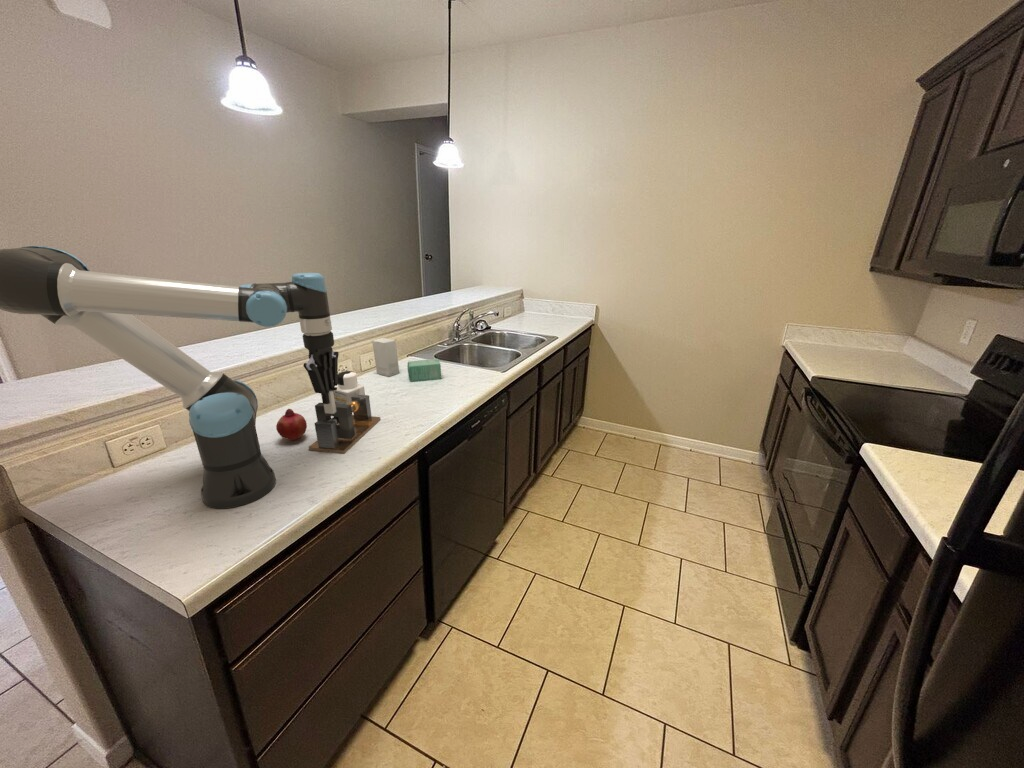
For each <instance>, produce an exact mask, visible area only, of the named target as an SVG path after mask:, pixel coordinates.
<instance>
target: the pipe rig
mask: <svg viewBox="0 0 1024 768" xmlns="http://www.w3.org/2000/svg"><path fill="white" fill-rule="evenodd" d="M351 399H352V402H351V403H349V404H348V405H351V409H352V416H353V423H354V431H355V436H354V437H353V438H352V439H345V438H338V434H337V427H336V425H340V424H339V417H335V416H332V417H331V419H330V420H318V421H315V422H314V428H315V434H316V441H314V442H313V443H312V444H311V445H309V446H308V451H312V452H321V453H322V452H323V453H331V454H332V453H333V454H335V453H336V454H343V455H344V454H346V453H347V452H348V451H349V450H350V449H351V448H352V447H353V446H355V444H356V443H358V442H359V441H360V440H361V439H362V438H363V437H364V436H365V435H366V434H367V433H368V432H369V431H370V430H371V429H373V428H374V427H375V426H376V425H377V424H378V423H379V422H380V421H381V416H372V409H371V408H372V407H371V401H370V400H371V399H370V395H368V394H365V395H357V394H355V395H353V396H352V397H351Z"/></svg>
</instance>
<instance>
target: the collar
mask: <svg viewBox="0 0 1024 768" xmlns="http://www.w3.org/2000/svg"><path fill="white" fill-rule="evenodd" d="M335 405H336V413H334V414H329V413H325V410H324V404H323V402H318V403H316V404H315V405H314V408H315V409H314V410H315V415H316V420H317V421H318V420H330V419H331V418H332V417H334V416H335V417H339V423H338V424H340V425H336V427H337V434H338V438H345V439H352V438H353V437H354V436H355V431H354V423H353V416H352V415H353V412H352V409H351V405H346V404H335ZM317 421H316V422H317Z"/></svg>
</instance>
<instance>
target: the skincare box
mask: <svg viewBox="0 0 1024 768" xmlns="http://www.w3.org/2000/svg"><path fill="white" fill-rule="evenodd" d="M371 342H372V349H373V357H374V363H375V370H376V374H377V375H381V376H384V377H388V378H389V377H393V376H395V375H398V374H400V365H399V358H398V350H397V341H396V339H393V338H385V337H381V338H378V339H374V340H372V341H371Z"/></svg>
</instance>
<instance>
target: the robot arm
mask: <svg viewBox="0 0 1024 768" xmlns="http://www.w3.org/2000/svg"><path fill="white" fill-rule="evenodd" d="M0 310H2V311H5V312H8V313H12V314H13V313H14V314H18V315H38V316H39V315H40V316H42V317H43V318H45V319H46V320H48V321H50V322H51V323H53V324H54V325H56V326H69V327H73V328H75V329H76V330H78V331H79V332H81V333H83V334H84V335H86V336H87V337H89V338H90V339H92V340H93V341H94V342H96V343H98V344H99V345H100V346H102V347H104V348H105V349H107V350H108V351H110V352H111V353H113V354H114V355H116V356H117V357H119V358H120V359H122V360H124V361H125V362H127V363H128V364H130V365H132V367H134V368H136V369H137V370H138V371H140V372H142V373H143V374H145V375H146V376H148V377H149V378H151V379H152V380H154V381H155V382H157V383H159V384H160V385H162V386H163V387H164V388H166V389H167V390H168V391H170V392H172V393H174V394H175V395H177V396H178V397H180V398H181V400H182V407H183V408H184V409H185V410H187V411H188V416H189V420H188V423H189V425H190V429H192V433H193V437H194V440H195V444H196V447H197V450H198V454H199V457H200V461H201V464H202V467H203V477H202V487H201V491H200V495H201V498H202V501H203V504H204V505H205V506H207V507H209V508H213V509H231V508H237V507H240V506H244V505H246V504H249V503H252V502H254V501H257V500H258V499H261V498H262V497H264V496H265V495H267V494H268V493H269V492H271V490H273V489H274V487H275V485H276V482H277V480H276V475H275V472H274V470H273V468H272V467H270V465H269V463H268V461H267V460H266V459H265V457H264V456H263V454H262V451H261V446H260V441H259V437H258V433H257V429H256V428H257V427H256V426H257V425H256V423H257V422H256V421H257V412H258V407H259V405H258V404H259V403H258V398H257V396H256V393H255V392H254V390H253V388H251V387H250V386H249V385H248V384H246V383H245V382H243V381H240V380H237V379H236V380H235V379H232V378H231V377H229V376H228V375H226V374H225V373H223V372H222V371H211V370H209V369H207V368H206V367H205V366H203V365H202V364H200V363H199V362H198V361H197V360H195V359H194V358H193V357H191V356H189V355H188V354H187V353H185V352H184V351H182V350H181V349H180V348H179V347H177V346H176V345H174V344H173V343H172V342H170V341H169V340H167V339H166V338H165V337H163V336H162V335H160V334H159V333H158V332H157V331H155V330H153V329H152V328H151V327H149V326H148V325H147V324H145V323H144V322H142V321H141V320H140V319H139V318H136V316H135V315H137V316H138V315H139V316H148V317H149V316H150V317H151V316H152V317H165V318H167V317H168V318H180V319H181V318H182V319H197V320H198V319H199V320H216V321H227V322H228V321H229V322H230V321H231V322H241V323H254V324H256V325H258V326H260V327H265V328H266V327H267V328H271V327H275V326H277V325H279V324H281V323H282V322H283V321H284V320H285V318H286V315H287V313H298V319H299V326H300V331H301V333H302V334H303V335H302V340H303V346H304V349H306V350H307V351H308V361H307V362H304V363H303V368H304V369H305V371H307V374H308V377H309V379H310V380H309V381H310V383H311V385H312V387H313V390H314V391H313V392H314V393H315V394H320V396H321V401H322V402H321V403H323V404H324V410H325V413H329V414H334V413H336V405H335V397H334V390H337V387H338V374H339V371H338V369H339V368H338V366H339V365H338V361H339V355H340V352H339V351H334V350H333V348H332V347H334V345H335V339H334V333H333V332H332V330H333V327H332V321H331V313H330V305H329V298H328V291H327V287H326V282H325V277H324V275H322V274H321V273H318V272H298V273H293V274H292V276H291V281H288V282H287V281H286V282H272V283H268V282H267V283H265V282H264V283H255V282H253V283H250V284H249V283H248V284H242V285H239V286H234V285H226V284H215V283H206V282H197V281H185V280H177V279H168V278H167V279H166V278H158V277H147V276H138V275H129V274H120V273H118V274H117V273H109V272H102V271H101V272H100V271H90V269H89V268H88V267H87V265H86V264H85V263H84V262H83V261H82V260H80V259H79V258H78V257H76V256H75V255H73V254H72V253H69V252H67V251H64V250H61V249H58V248H54V247H48V246H41V245H29V246H28V245H27V246H22V247H18V248H0Z"/></svg>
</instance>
